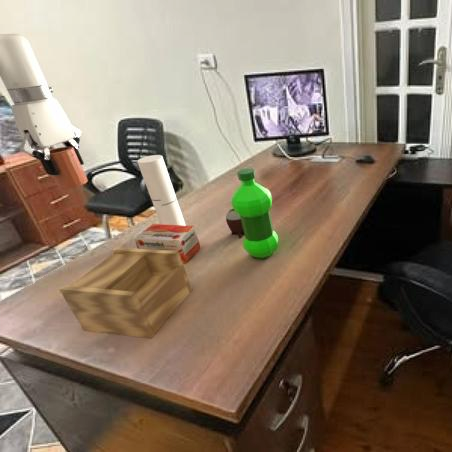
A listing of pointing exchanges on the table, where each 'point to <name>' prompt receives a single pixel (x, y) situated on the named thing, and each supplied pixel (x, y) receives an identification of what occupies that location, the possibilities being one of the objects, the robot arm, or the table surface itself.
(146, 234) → the medicine box
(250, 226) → the plastic bottle
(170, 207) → the cylindrical container
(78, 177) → the jar
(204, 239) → the table surface
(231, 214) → the mate gourd
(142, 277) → the wooden crate
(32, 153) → the robot arm
